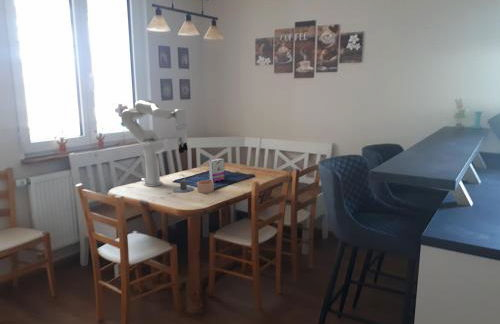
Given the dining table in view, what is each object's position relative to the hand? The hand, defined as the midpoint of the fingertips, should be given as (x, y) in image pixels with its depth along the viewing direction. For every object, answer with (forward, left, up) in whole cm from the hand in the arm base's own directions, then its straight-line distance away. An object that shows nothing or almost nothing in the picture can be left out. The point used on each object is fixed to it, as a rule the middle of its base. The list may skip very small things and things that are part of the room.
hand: (183, 151), depth 276 cm
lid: (0, -4, -27) cm, 27 cm away
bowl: (+16, -5, -27) cm, 31 cm away
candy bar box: (+18, +22, -27) cm, 39 cm away
